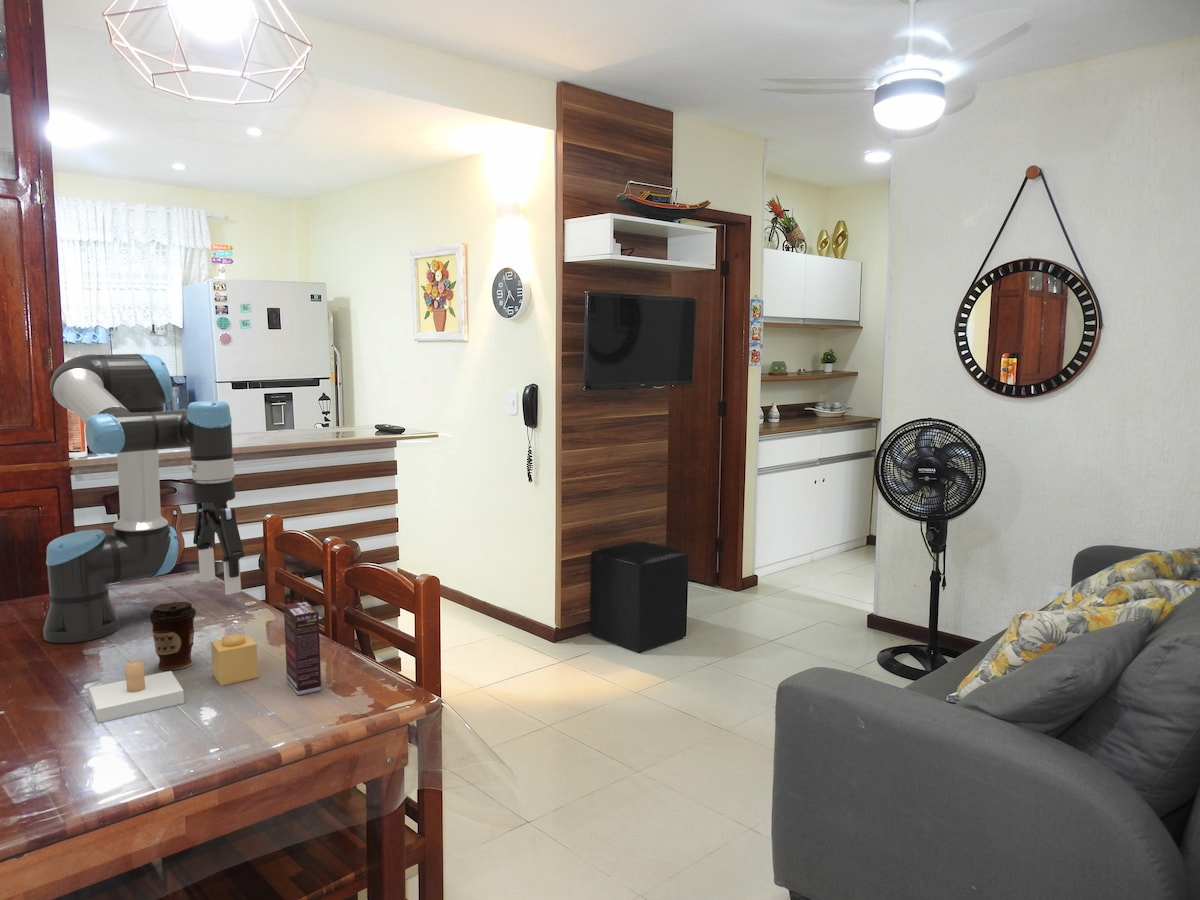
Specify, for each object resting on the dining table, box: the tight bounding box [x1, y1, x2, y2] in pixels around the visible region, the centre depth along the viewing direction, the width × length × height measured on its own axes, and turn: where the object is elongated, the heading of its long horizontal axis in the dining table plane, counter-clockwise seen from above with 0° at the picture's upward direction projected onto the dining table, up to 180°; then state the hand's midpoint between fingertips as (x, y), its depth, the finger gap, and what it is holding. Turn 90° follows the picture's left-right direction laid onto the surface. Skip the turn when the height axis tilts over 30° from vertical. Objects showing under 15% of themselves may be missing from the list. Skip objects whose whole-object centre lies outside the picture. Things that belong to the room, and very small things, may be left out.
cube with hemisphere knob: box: [210, 633, 259, 687], centre depth 170 cm, size 7×7×8 cm
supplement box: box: [283, 601, 322, 696], centre depth 164 cm, size 9×5×16 cm, turn 34°
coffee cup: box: [149, 601, 197, 671], centre depth 175 cm, size 9×8×13 cm
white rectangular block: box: [88, 660, 185, 724], centre depth 157 cm, size 12×14×8 cm
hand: (220, 586), depth 166 cm, fingers open, 13 cm apart
